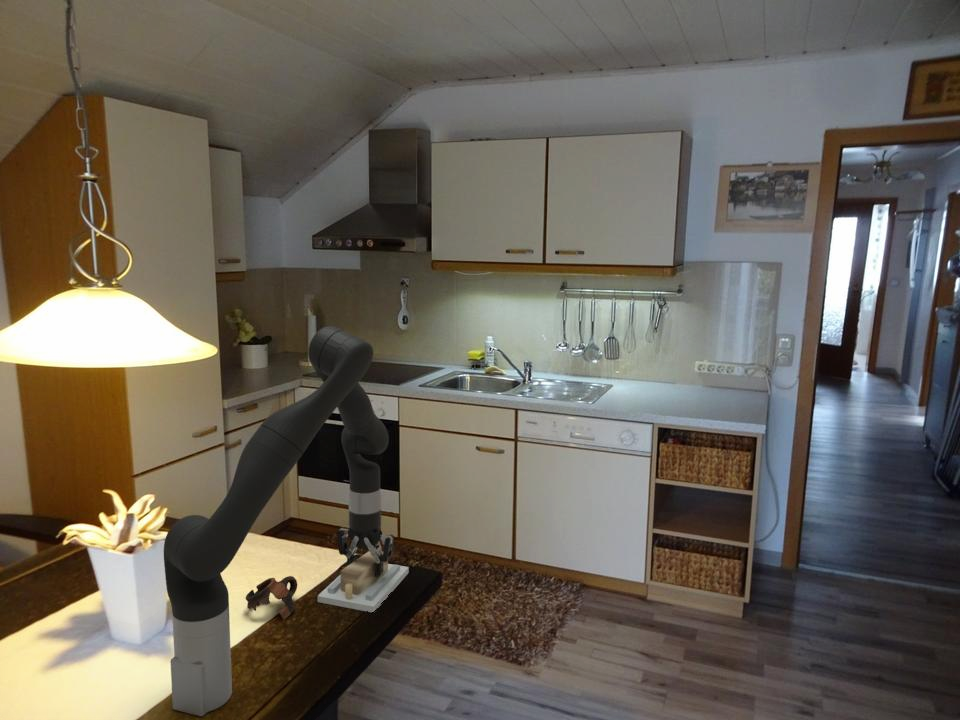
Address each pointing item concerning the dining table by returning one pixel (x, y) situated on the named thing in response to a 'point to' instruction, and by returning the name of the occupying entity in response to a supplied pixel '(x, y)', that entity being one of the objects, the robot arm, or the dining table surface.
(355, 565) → the beige wooden block
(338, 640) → the dining table surface
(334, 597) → the key cradle
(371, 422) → the robot arm
